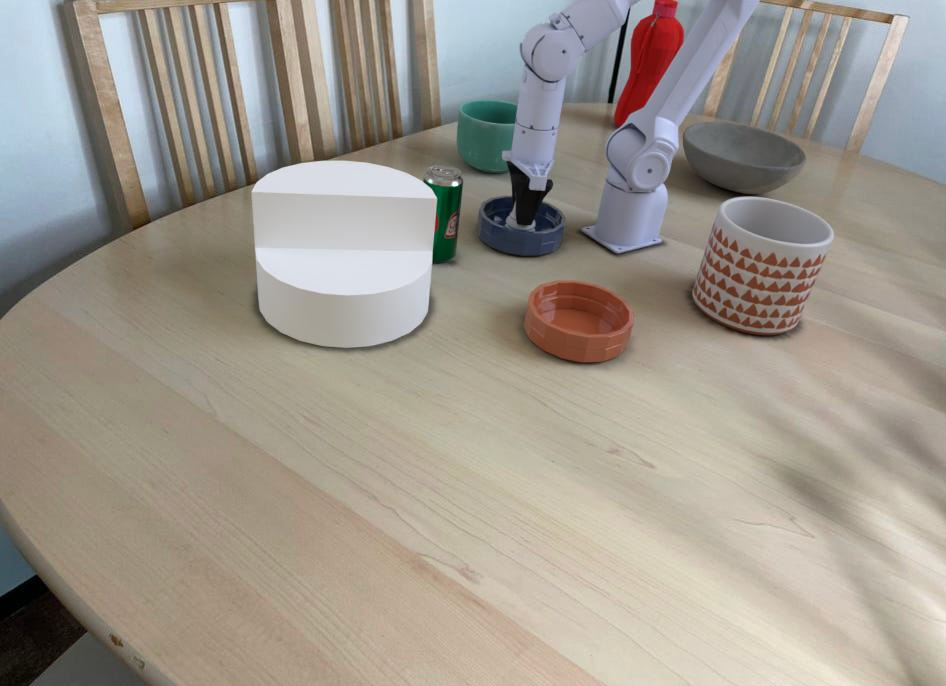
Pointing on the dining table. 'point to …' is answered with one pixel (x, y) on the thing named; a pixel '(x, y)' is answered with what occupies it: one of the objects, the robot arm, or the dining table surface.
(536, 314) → the terracotta bowl
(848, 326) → the dining table surface
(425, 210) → the stepped white cylinder
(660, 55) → the water bottle
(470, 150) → the mug
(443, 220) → the soda can
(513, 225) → the rook chess piece
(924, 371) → the dining table surface
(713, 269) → the planter
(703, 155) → the bowl
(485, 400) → the dining table surface
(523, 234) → the slate bowl
